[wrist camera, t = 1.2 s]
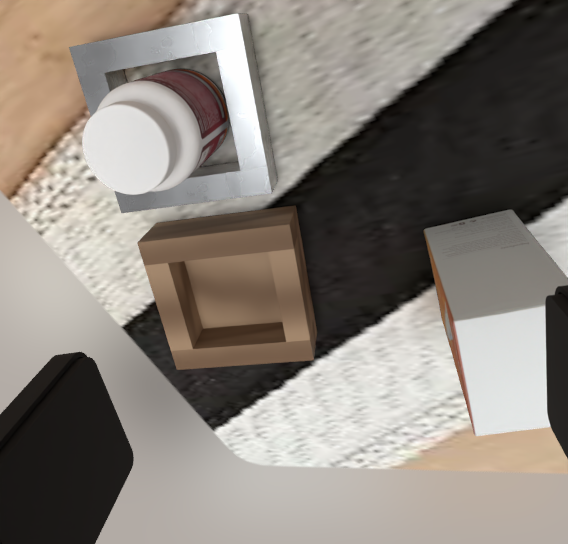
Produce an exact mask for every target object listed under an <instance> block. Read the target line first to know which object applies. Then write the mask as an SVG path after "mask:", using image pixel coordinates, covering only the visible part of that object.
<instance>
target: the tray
mask: <svg viewBox="0 0 568 544" xmlns="http://www.w3.org/2000/svg"><path fill="white" fill-rule="evenodd" d="M138 246H139V250H140V253H141V256H142V259H143V262H144V266H145V269H146V272H147V275H148V278H149V282H150V285H151V288H152V291H153V294H154V298H155V301H156V304H157V307H158V310H159V314H160V317H161V320H162V323H163V326H164V330H165V333H166V336H167V339H168V343H169V346H170V349H171V352H172V355H173V359H174V362H175V365H176V368H177V370H180V369H195V368H209V367H223V366H237V365H251V364H265V363H280V362H294V361H308V360H314V353H315V344H316V336H317V328H316V323H315V317H314V311H313V305H312V299H311V293H310V287H309V281H308V275H307V269H306V263H305V257H304V251H303V246H302V240H301V234H300V228H299V222H298V216H297V210H296V205H295V206H287V207H279V208H271V209H263V210H255V211H248V212H240V213H232V214H224V215H216V216H208V217H200V218H192V219H185V220H177V221H169V222H161V223H156V224H155V225H154V226H153V227H152V228H151V229H150V230H149V231H148V232H147V233H146V234H145V235H144V236H143V238H142V239H141V240H140V241H139V242H138Z"/></svg>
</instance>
